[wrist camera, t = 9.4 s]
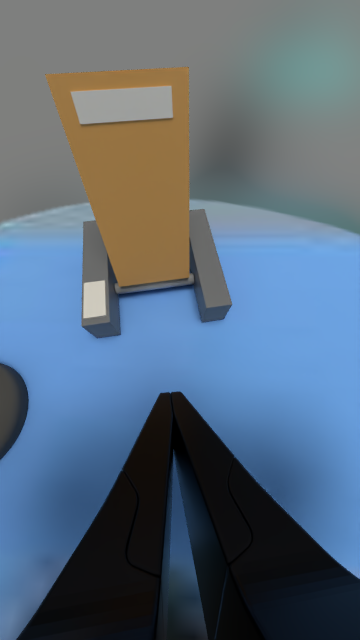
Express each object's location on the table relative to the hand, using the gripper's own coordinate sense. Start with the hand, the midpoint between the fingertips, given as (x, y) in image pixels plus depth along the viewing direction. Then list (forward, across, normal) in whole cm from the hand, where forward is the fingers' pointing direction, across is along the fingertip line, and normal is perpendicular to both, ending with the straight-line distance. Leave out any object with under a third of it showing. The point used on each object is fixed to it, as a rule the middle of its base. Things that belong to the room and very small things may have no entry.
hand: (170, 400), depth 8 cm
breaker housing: (+13, +1, -3) cm, 13 cm away
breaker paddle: (+12, 0, -3) cm, 12 cm away
